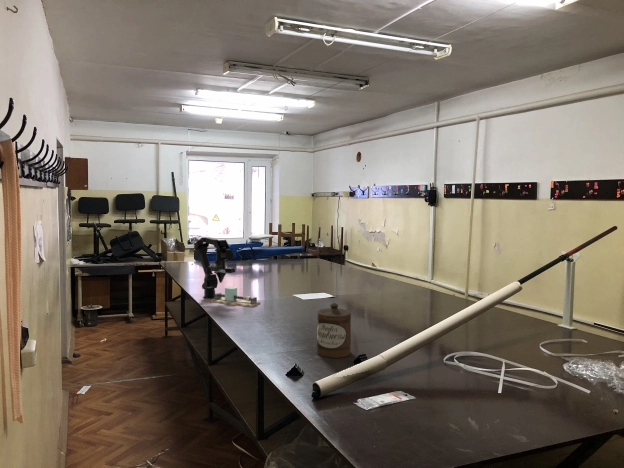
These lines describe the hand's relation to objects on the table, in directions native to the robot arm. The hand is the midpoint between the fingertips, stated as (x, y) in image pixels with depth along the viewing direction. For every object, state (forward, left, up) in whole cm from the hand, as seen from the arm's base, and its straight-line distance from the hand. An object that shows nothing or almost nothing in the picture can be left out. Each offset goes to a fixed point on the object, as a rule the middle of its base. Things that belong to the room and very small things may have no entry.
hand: (220, 282), depth 310 cm
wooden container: (+105, -63, -12) cm, 123 cm away
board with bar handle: (+12, 0, -12) cm, 17 cm away
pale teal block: (+8, 0, -10) cm, 13 cm away
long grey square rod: (+11, 0, -10) cm, 15 cm away
